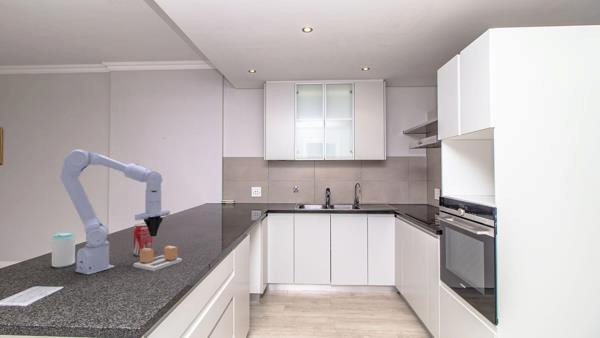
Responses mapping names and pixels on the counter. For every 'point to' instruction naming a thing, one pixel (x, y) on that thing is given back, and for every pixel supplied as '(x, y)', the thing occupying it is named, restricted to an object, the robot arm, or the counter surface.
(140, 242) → the soda can
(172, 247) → the tab near
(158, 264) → the switch bank
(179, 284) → the counter surface
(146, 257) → the tab far
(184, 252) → the counter surface
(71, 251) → the white lidded container
